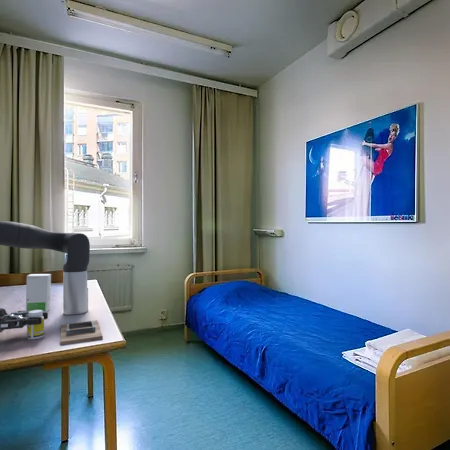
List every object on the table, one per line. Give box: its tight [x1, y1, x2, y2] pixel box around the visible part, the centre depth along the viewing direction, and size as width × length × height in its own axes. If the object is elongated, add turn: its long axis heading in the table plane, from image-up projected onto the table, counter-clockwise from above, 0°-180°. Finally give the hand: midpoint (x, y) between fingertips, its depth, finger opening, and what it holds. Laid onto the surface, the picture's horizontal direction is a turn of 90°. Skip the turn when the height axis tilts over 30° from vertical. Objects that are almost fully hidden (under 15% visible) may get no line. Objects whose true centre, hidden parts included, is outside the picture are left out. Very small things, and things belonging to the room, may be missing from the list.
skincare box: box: [25, 273, 52, 313], centre depth 142 cm, size 8×7×16 cm
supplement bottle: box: [26, 310, 45, 340], centre depth 108 cm, size 5×5×8 cm
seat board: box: [59, 319, 103, 346], centre depth 112 cm, size 20×12×2 cm, turn 25°
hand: (44, 318), depth 108 cm, fingers open, 5 cm apart
